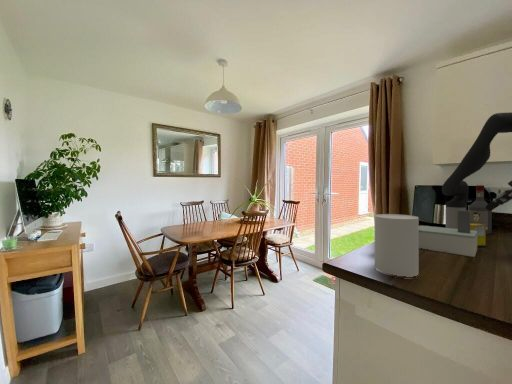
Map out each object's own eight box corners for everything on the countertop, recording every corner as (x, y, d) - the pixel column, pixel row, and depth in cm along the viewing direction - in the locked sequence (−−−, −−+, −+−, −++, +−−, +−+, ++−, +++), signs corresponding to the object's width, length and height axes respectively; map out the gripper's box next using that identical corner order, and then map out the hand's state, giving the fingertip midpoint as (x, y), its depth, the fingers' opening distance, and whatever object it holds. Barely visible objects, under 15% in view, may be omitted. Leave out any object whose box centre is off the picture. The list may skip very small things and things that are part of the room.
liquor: (473, 230, 147) (474, 185, 146) (492, 233, 139) (493, 185, 138) (466, 232, 143) (467, 185, 142) (486, 234, 135) (486, 185, 134)
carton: (413, 247, 111) (413, 231, 111) (420, 241, 122) (420, 227, 122) (474, 257, 95) (474, 238, 95) (477, 249, 106) (477, 232, 105)
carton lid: (413, 231, 111) (413, 209, 111) (420, 226, 122) (420, 207, 121) (474, 238, 95) (475, 212, 94) (477, 232, 105) (477, 209, 105)
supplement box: (475, 244, 115) (475, 223, 115) (485, 247, 109) (486, 225, 109) (462, 243, 116) (462, 223, 116) (472, 247, 110) (472, 225, 110)
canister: (420, 281, 72) (420, 220, 72) (373, 273, 79) (373, 217, 79) (416, 268, 83) (416, 215, 83) (376, 262, 91) (375, 213, 90)
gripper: (518, 175, 95) (480, 201, 104) (520, 174, 85) (478, 203, 94) (538, 187, 91) (496, 213, 100) (542, 188, 82) (496, 216, 90)
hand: (487, 208), depth 97 cm, fingers open, 8 cm apart
